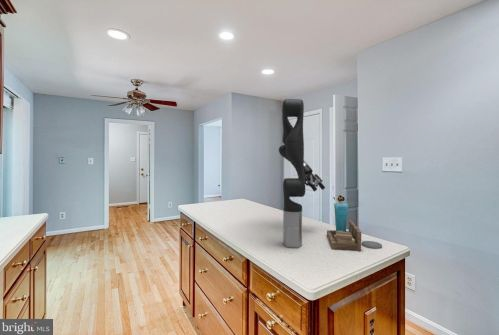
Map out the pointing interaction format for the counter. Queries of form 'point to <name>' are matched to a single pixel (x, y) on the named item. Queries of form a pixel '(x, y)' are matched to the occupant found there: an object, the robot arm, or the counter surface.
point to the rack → (346, 246)
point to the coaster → (372, 244)
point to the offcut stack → (343, 237)
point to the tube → (341, 217)
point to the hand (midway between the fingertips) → (320, 189)
